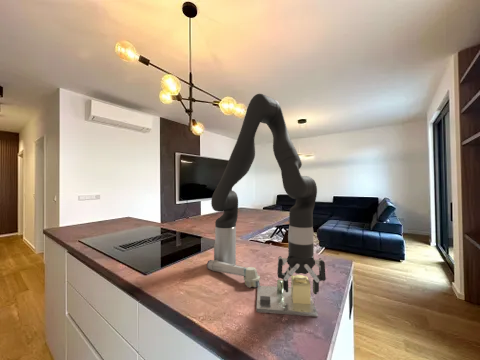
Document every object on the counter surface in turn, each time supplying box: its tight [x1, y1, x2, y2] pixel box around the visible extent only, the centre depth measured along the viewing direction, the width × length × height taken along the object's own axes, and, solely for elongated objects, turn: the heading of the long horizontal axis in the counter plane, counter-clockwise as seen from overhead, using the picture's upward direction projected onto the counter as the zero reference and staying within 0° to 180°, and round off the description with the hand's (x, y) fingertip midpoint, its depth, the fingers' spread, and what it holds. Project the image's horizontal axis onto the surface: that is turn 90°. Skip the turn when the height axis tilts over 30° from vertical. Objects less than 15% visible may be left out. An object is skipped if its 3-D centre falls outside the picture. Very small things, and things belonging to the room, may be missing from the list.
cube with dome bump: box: [290, 274, 312, 304], centre depth 64 cm, size 5×5×7 cm
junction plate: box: [256, 279, 319, 318], centre depth 65 cm, size 17×13×6 cm
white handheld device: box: [206, 259, 261, 288], centre depth 81 cm, size 5×7×25 cm
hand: (300, 292), depth 64 cm, fingers open, 8 cm apart
